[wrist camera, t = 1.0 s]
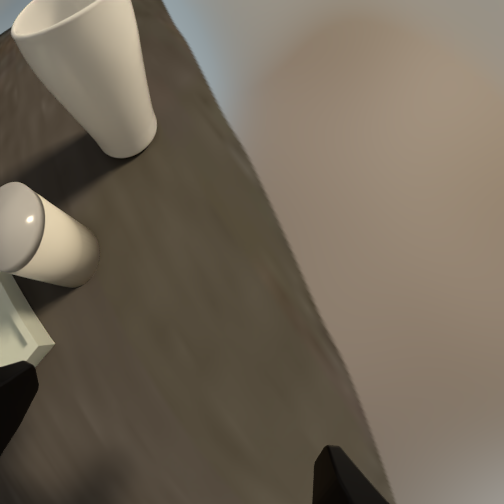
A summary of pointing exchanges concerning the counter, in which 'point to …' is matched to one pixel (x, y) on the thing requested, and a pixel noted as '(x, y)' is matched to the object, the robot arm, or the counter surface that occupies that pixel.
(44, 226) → the shaker
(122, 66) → the drinking glass
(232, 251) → the counter surface
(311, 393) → the counter surface
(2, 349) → the tray
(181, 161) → the counter surface
